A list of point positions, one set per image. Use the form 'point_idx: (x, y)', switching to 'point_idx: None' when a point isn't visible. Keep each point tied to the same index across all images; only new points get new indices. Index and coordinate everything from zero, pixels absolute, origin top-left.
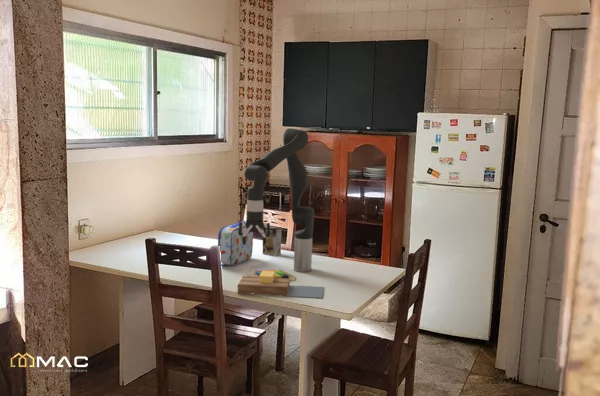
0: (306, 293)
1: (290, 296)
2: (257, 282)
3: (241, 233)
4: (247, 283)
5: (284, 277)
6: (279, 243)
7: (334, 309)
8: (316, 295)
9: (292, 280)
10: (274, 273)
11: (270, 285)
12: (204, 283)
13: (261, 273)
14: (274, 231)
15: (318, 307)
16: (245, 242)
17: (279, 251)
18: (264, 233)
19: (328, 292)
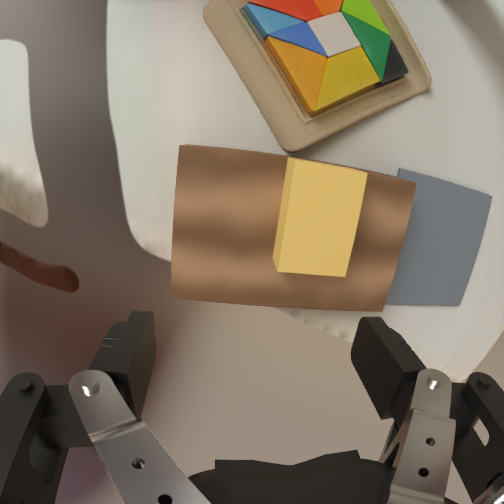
0: (433, 272)
1: None
2: (262, 258)
3: (66, 442)
4: (214, 277)
5: (388, 80)
6: None
7: (446, 372)
8: (452, 288)
9: (414, 95)
10: (360, 197)
11: (321, 298)
12: (30, 157)
13: (289, 219)
14: None
15: None
16: (150, 356)
17: None
18: (438, 413)
19: (487, 245)
